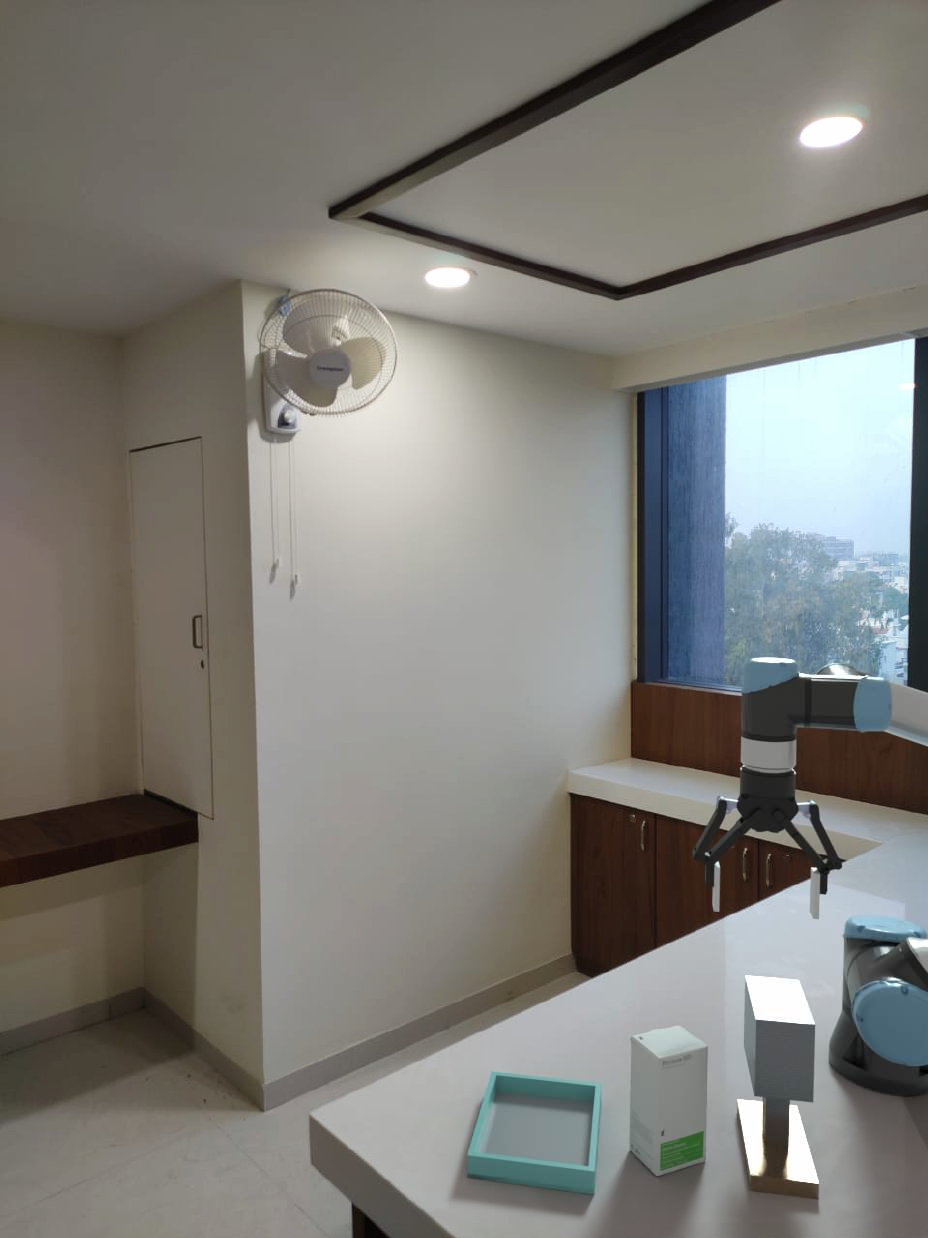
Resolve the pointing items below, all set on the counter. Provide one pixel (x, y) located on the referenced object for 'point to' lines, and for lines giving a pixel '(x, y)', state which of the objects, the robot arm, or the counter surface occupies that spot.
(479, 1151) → the tray
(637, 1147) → the skincare box
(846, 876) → the counter surface
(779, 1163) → the mounted unit
